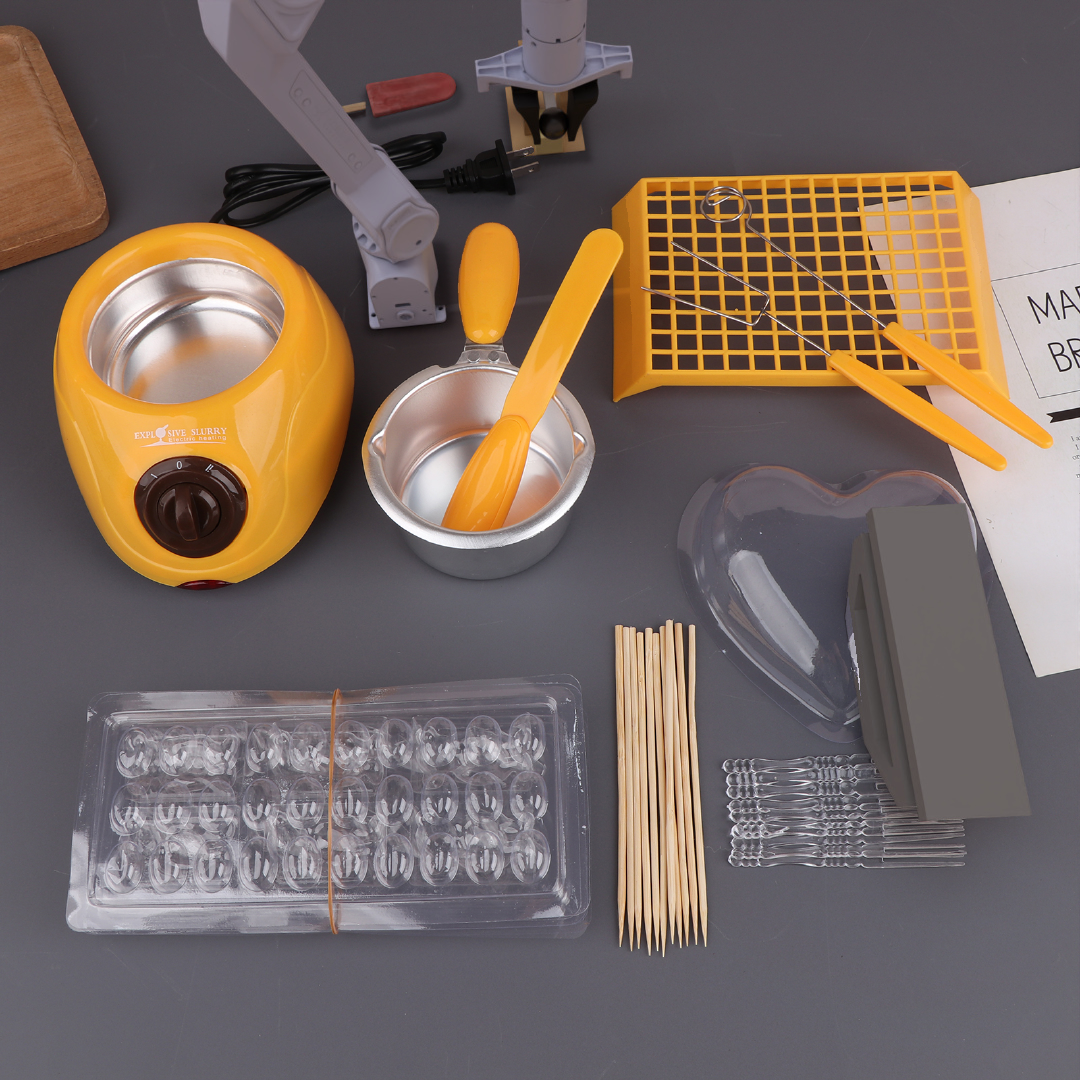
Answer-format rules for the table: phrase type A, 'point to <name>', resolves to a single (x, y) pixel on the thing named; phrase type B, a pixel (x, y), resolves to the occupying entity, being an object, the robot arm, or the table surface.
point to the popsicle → (406, 93)
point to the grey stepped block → (931, 667)
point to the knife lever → (552, 119)
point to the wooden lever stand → (522, 132)
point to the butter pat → (548, 143)
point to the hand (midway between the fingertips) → (553, 135)
